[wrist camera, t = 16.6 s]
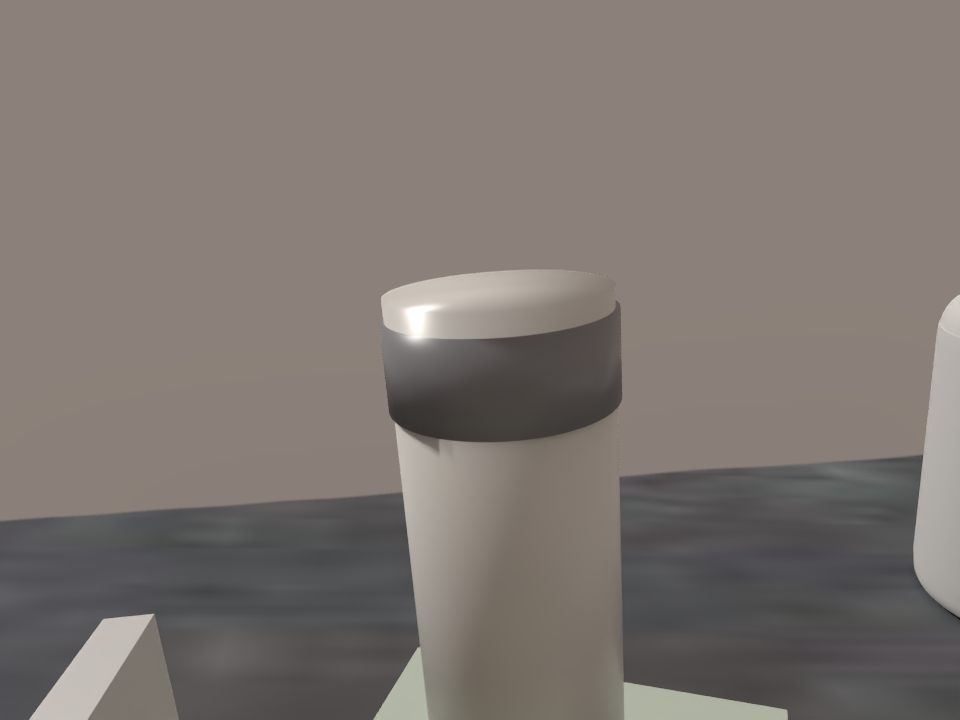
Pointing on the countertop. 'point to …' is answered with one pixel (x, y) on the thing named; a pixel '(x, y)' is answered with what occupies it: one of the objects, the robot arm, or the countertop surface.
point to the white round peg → (511, 489)
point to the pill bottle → (942, 472)
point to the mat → (647, 710)
